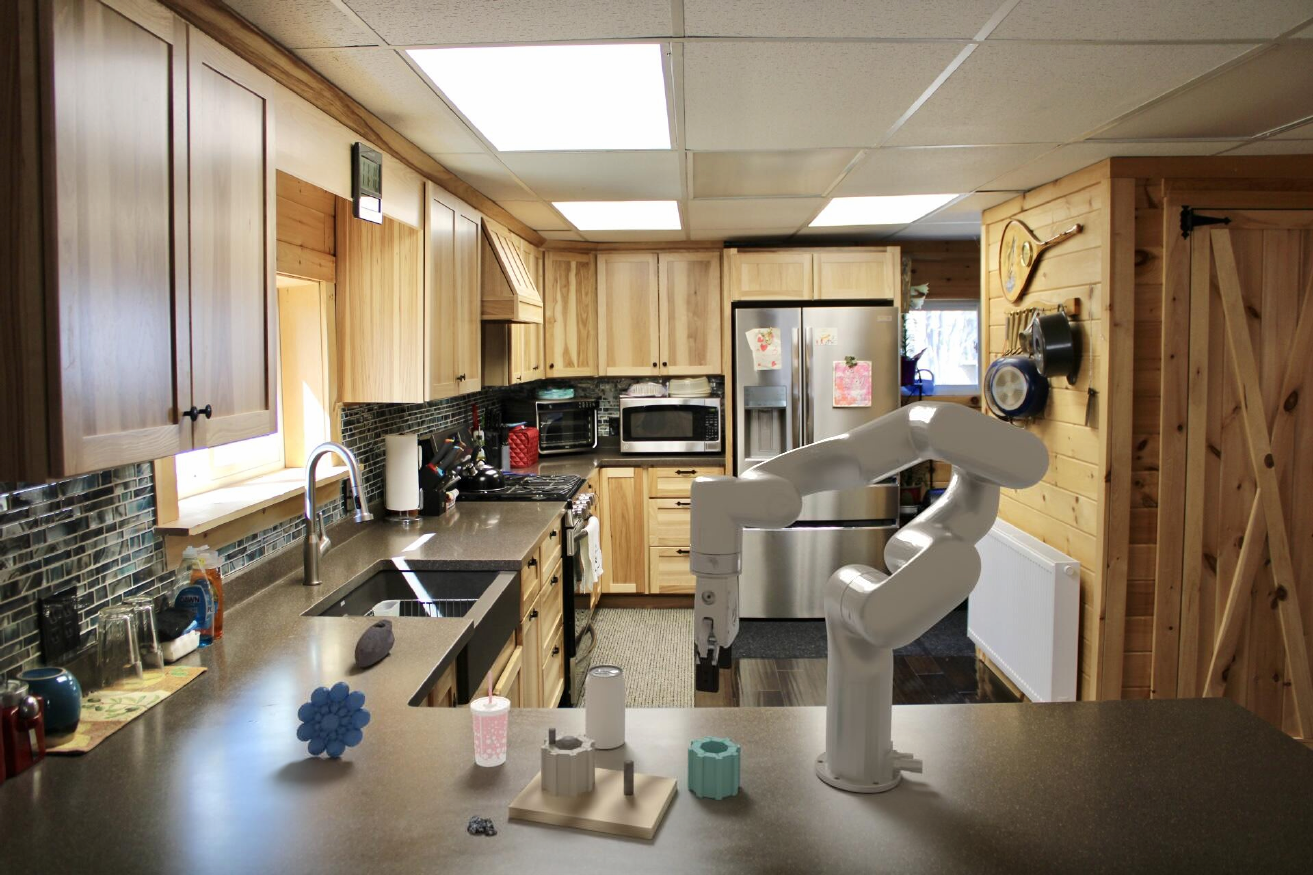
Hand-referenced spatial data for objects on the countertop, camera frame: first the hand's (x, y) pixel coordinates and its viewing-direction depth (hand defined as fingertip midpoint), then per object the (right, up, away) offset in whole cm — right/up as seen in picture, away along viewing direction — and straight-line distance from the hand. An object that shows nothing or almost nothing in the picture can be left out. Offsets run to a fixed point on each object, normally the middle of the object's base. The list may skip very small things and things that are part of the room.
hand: (714, 679), depth 122 cm
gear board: (-17, -16, -4) cm, 24 cm away
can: (-17, -15, +16) cm, 28 cm away
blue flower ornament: (-58, -15, +11) cm, 61 cm away
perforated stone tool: (-67, -12, +54) cm, 87 cm away
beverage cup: (-34, -15, +9) cm, 39 cm away
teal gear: (0, -16, +1) cm, 16 cm away
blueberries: (-31, -17, -10) cm, 37 cm away
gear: (-21, -15, -2) cm, 26 cm away
